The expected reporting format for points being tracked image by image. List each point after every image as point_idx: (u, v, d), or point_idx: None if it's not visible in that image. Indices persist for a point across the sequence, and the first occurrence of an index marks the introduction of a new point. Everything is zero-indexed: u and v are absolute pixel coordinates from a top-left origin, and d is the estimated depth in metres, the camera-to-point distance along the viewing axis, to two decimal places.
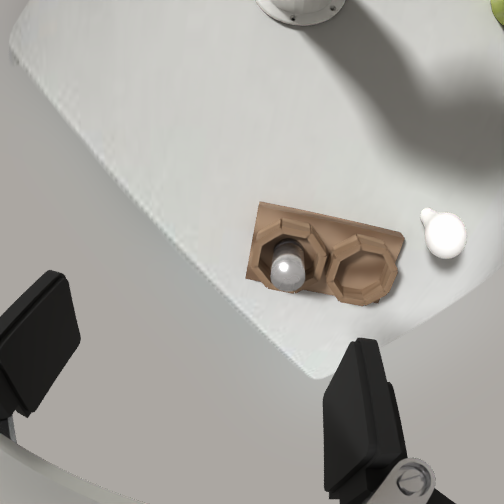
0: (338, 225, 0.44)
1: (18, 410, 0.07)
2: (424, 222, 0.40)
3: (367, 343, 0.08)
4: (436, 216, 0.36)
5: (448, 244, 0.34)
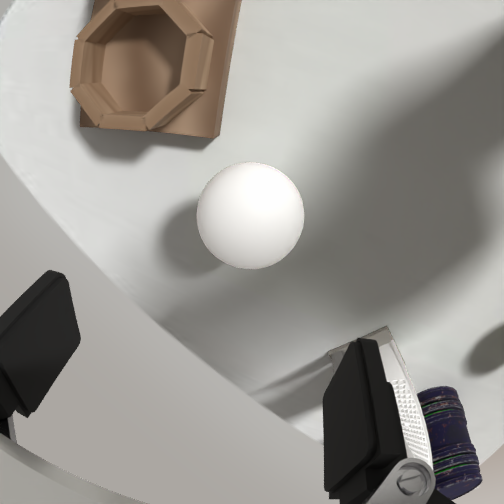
0: (229, 2, 0.17)
1: (18, 410, 0.07)
2: None
3: (367, 343, 0.08)
4: (292, 182, 0.18)
5: (243, 217, 0.15)
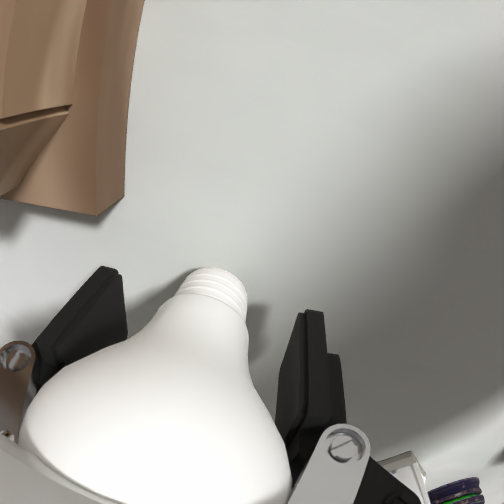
0: None
1: None
2: (185, 306, 0.09)
3: (312, 314, 0.09)
4: (259, 433, 0.05)
5: None
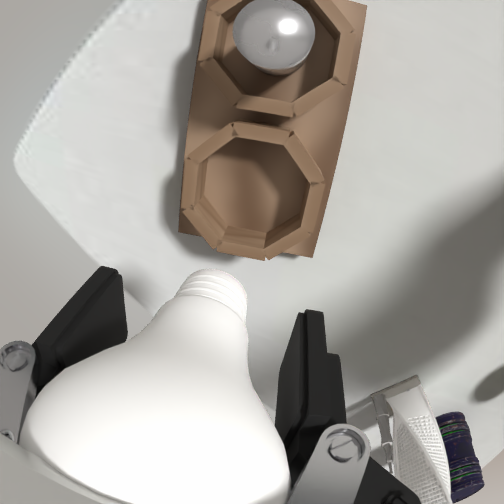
0: (337, 137, 0.23)
1: None
2: (185, 308, 0.09)
3: (312, 314, 0.09)
4: (258, 435, 0.05)
5: None
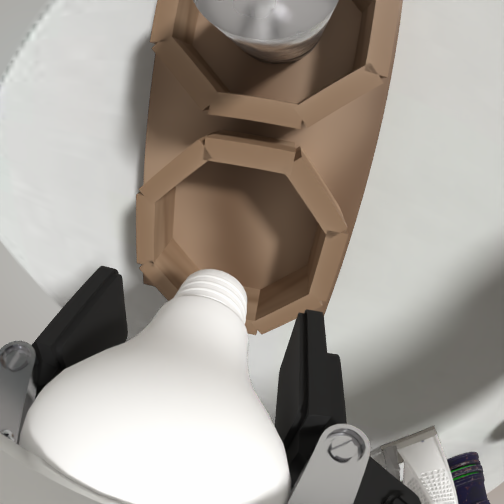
0: (365, 157, 0.15)
1: None
2: (185, 308, 0.09)
3: (312, 314, 0.09)
4: (258, 435, 0.05)
5: None
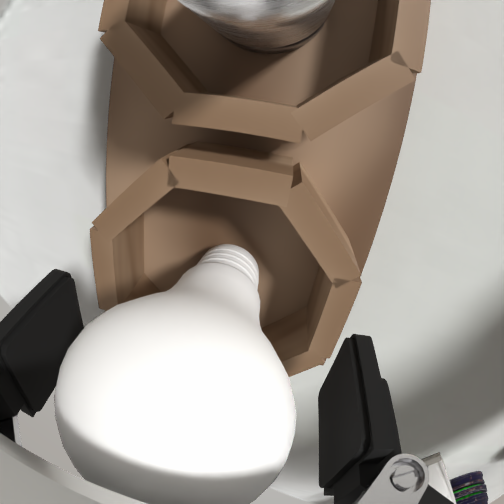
0: (383, 177, 0.12)
1: (23, 410, 0.07)
2: (206, 271, 0.10)
3: (361, 339, 0.08)
4: (269, 359, 0.07)
5: (124, 493, 0.04)
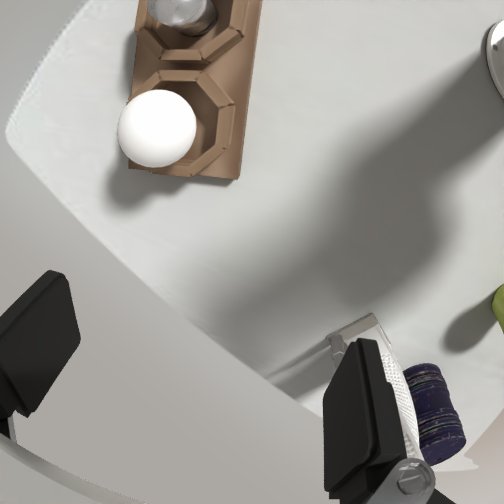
0: (245, 75, 0.27)
1: (18, 410, 0.07)
2: None
3: (367, 343, 0.08)
4: (185, 100, 0.22)
5: (140, 118, 0.19)
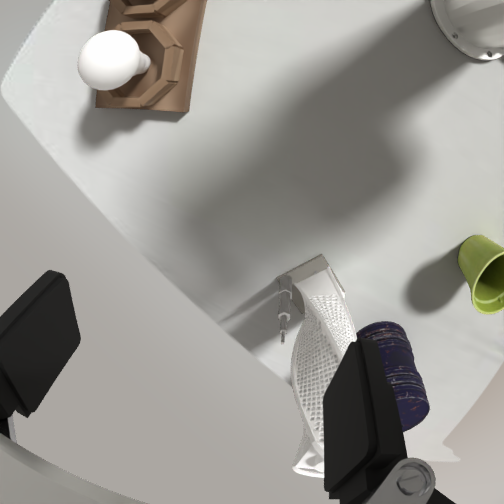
0: (193, 24, 0.28)
1: (18, 410, 0.07)
2: None
3: (367, 343, 0.08)
4: None
5: (92, 47, 0.20)
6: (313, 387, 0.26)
